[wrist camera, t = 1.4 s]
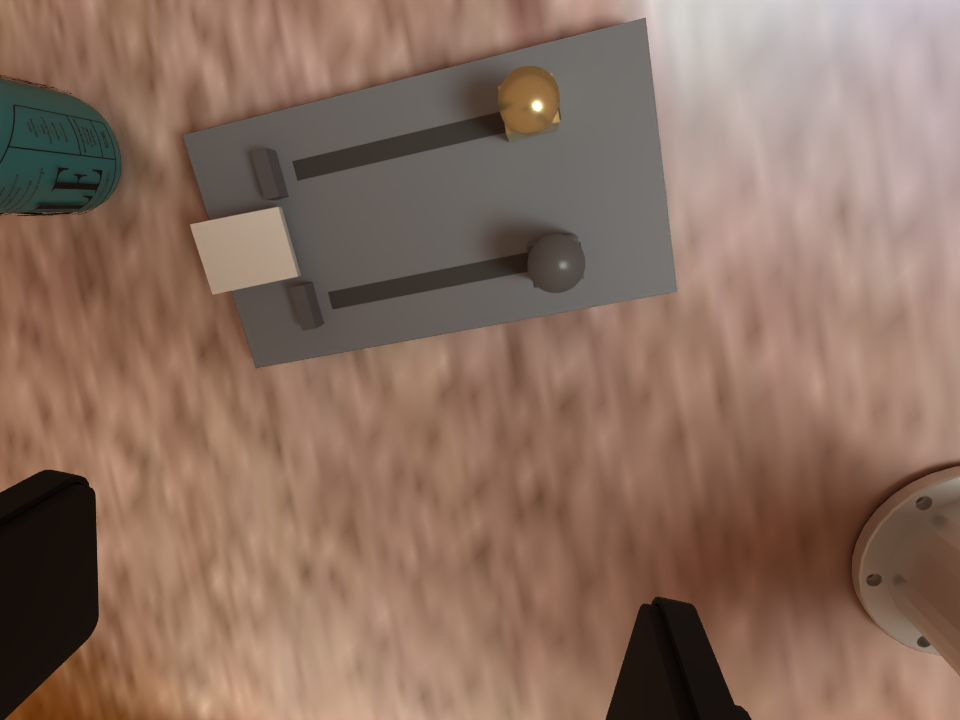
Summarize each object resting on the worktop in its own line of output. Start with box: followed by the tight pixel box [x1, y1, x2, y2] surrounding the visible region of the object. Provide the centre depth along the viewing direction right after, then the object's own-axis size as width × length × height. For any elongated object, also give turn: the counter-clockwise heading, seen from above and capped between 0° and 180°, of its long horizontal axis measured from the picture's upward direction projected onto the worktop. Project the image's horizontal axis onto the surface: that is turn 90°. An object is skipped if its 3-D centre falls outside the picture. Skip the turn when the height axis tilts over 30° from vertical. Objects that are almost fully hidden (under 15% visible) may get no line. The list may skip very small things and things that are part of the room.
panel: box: [182, 18, 677, 368], centre depth 29 cm, size 24×13×3 cm, turn 102°
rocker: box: [190, 207, 301, 295], centre depth 29 cm, size 4×4×1 cm
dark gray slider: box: [526, 233, 585, 293], centre depth 27 cm, size 3×3×4 cm
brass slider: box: [498, 66, 560, 142], centre depth 25 cm, size 3×3×4 cm
